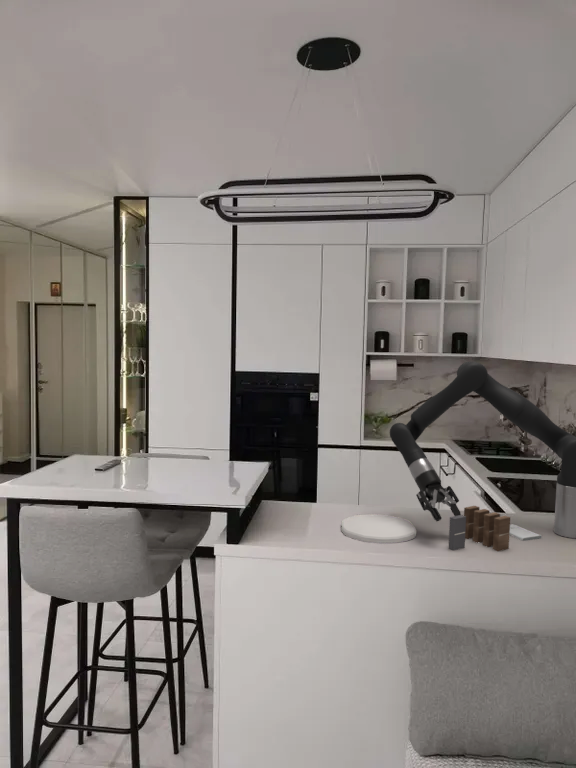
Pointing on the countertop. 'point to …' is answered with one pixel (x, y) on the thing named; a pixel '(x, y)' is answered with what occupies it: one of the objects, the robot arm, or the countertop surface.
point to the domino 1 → (457, 532)
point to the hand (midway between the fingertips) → (449, 518)
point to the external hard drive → (522, 533)
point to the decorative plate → (378, 528)
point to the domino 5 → (501, 533)
